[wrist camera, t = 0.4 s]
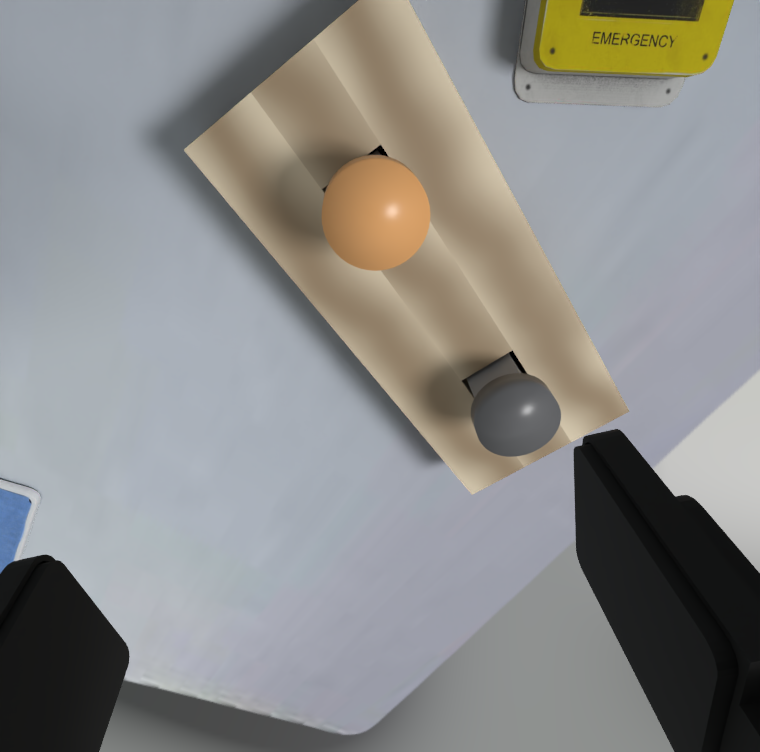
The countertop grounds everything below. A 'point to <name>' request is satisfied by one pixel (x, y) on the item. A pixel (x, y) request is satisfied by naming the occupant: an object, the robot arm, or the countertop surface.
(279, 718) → the countertop surface
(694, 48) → the emergency button
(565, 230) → the countertop surface
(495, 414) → the gray knob
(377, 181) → the orange knob
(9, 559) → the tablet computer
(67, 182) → the countertop surface
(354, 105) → the control block
